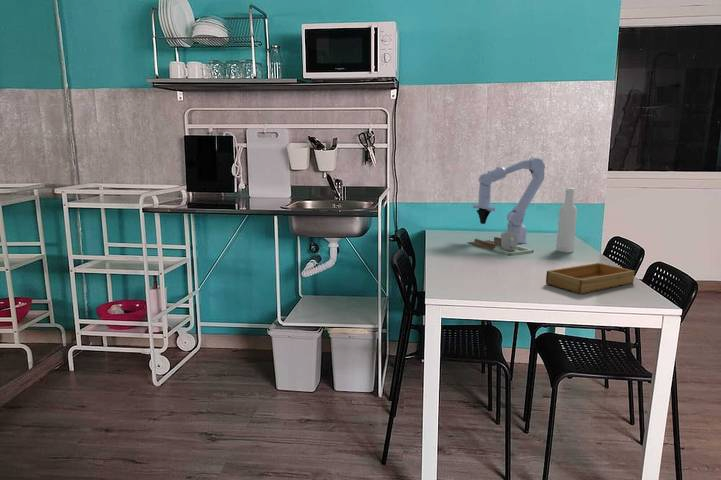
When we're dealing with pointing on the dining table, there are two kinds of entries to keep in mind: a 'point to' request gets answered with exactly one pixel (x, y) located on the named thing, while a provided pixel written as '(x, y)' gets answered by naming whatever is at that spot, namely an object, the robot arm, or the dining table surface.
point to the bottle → (567, 224)
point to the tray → (589, 277)
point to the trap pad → (486, 240)
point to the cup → (509, 241)
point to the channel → (487, 243)
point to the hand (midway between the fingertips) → (482, 223)
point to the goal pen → (515, 251)
